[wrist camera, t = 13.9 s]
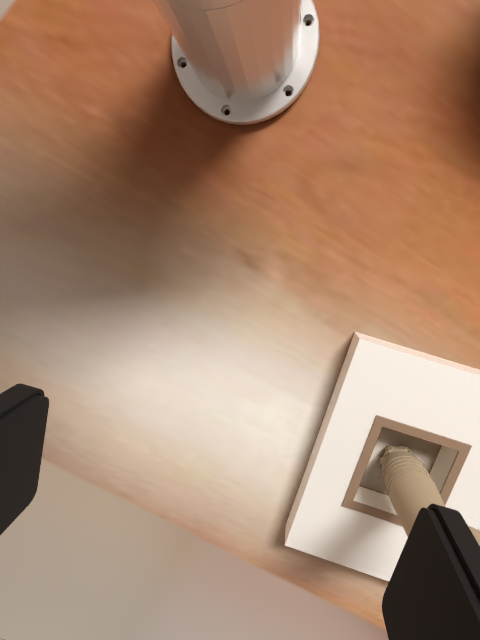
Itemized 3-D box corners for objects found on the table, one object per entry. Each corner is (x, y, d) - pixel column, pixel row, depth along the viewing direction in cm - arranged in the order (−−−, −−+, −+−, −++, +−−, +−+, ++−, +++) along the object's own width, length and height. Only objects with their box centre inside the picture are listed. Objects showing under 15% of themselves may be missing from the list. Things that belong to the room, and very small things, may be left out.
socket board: (354, 331, 39) (360, 339, 36) (523, 383, 38) (544, 395, 35) (285, 525, 44) (284, 546, 41) (434, 576, 43) (445, 602, 40)
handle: (438, 460, 40) (520, 583, 26) (382, 492, 42) (428, 626, 27) (410, 421, 40) (476, 523, 25) (354, 455, 41) (386, 570, 27)
